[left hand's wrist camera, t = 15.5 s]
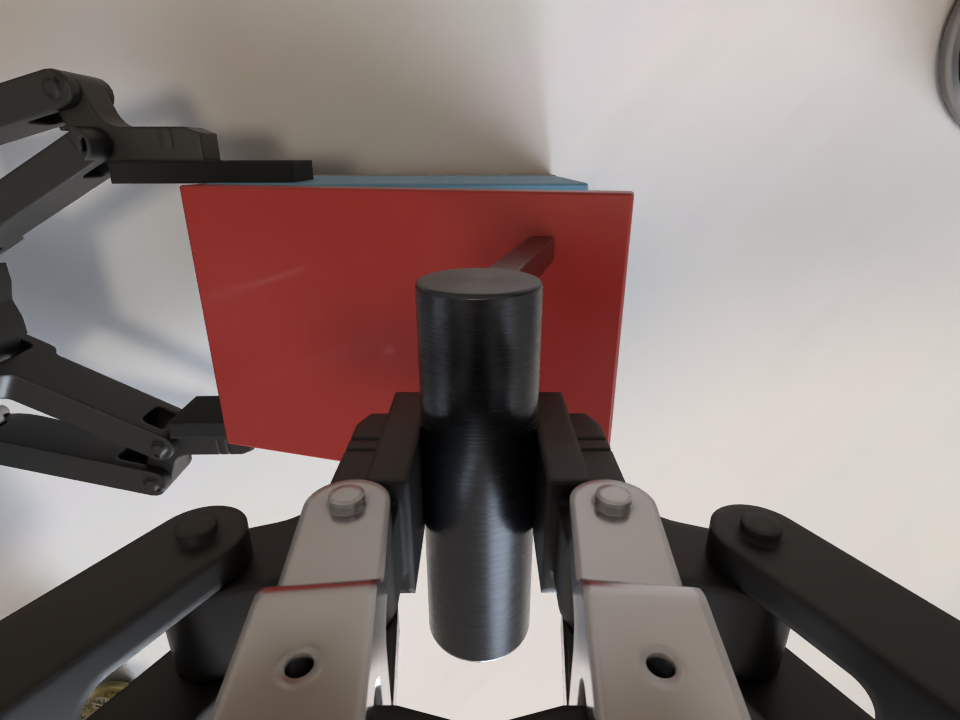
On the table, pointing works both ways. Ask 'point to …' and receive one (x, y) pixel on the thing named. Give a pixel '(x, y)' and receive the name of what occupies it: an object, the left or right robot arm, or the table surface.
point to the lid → (420, 349)
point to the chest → (440, 181)
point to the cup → (101, 696)
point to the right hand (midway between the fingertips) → (317, 302)
